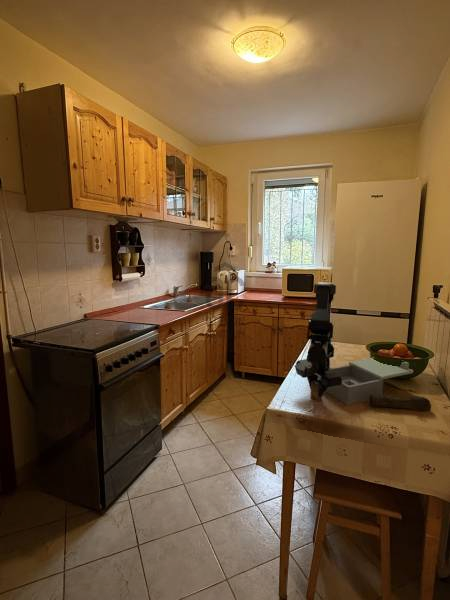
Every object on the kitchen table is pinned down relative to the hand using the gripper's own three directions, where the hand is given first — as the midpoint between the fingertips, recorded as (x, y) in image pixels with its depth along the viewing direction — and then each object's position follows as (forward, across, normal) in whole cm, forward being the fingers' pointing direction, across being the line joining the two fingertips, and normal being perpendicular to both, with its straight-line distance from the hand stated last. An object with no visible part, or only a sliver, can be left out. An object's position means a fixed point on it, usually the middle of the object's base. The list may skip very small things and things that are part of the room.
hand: (316, 394), depth 114 cm
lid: (-5, 0, +30) cm, 30 cm away
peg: (+2, 0, 0) cm, 2 cm away
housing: (+2, 0, +15) cm, 15 cm away
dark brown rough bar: (+2, +16, +22) cm, 27 cm away
